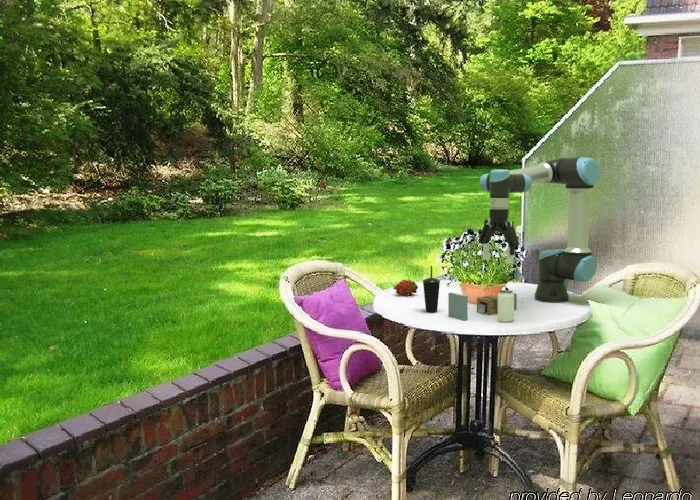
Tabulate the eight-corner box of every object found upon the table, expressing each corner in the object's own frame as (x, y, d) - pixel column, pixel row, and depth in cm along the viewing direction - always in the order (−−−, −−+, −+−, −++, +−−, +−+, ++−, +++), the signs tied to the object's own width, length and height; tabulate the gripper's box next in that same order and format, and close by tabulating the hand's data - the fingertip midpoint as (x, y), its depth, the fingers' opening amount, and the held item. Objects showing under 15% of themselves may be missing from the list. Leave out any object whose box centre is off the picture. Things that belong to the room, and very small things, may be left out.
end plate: (451, 315, 294) (451, 292, 293) (467, 320, 286) (467, 296, 285) (448, 316, 293) (448, 292, 292) (464, 320, 285) (464, 296, 284)
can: (516, 320, 284) (517, 291, 282) (508, 323, 279) (509, 293, 278) (502, 318, 288) (502, 289, 287) (494, 321, 284) (494, 291, 282)
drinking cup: (422, 313, 299) (422, 267, 297) (422, 309, 307) (422, 264, 304) (440, 313, 298) (440, 267, 296) (440, 309, 306) (440, 264, 303)
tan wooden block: (490, 309, 305) (490, 295, 304) (503, 312, 298) (503, 298, 298) (476, 311, 301) (476, 297, 300) (489, 315, 294) (489, 300, 293)
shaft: (505, 306, 309) (505, 291, 308) (516, 308, 304) (516, 293, 303) (476, 311, 299) (476, 296, 299) (486, 314, 294) (486, 299, 293)
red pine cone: (419, 299, 337) (395, 302, 339) (419, 286, 343) (395, 289, 346) (416, 287, 331) (391, 290, 334) (416, 274, 337) (391, 277, 340)
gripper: (470, 207, 287) (469, 258, 290) (515, 210, 267) (514, 265, 269) (484, 206, 291) (483, 257, 294) (529, 209, 271) (527, 264, 273)
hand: (497, 261), depth 282 cm, fingers open, 13 cm apart
